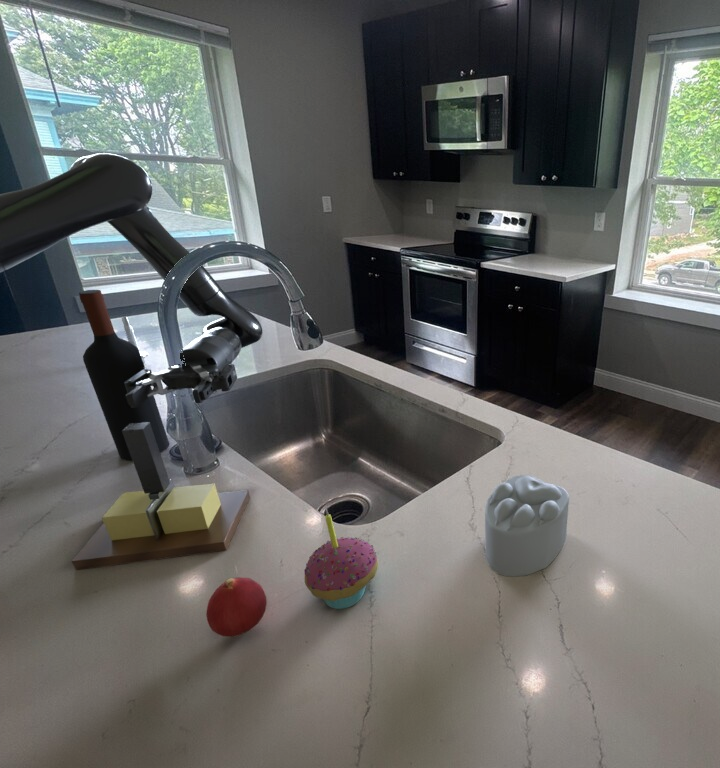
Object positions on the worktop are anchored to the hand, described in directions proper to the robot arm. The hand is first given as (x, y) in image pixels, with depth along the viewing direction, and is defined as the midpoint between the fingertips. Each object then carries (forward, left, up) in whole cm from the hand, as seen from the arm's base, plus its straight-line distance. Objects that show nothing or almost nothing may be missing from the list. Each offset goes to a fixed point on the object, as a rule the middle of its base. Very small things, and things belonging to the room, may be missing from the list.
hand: (164, 399), depth 69 cm
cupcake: (+26, -25, -17) cm, 40 cm away
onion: (+15, -28, -17) cm, 37 cm away
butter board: (0, -8, -17) cm, 19 cm away
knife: (0, -8, -16) cm, 18 cm away
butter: (0, -8, -16) cm, 18 cm away
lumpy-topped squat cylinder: (+50, -21, -17) cm, 57 cm away
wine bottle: (-14, +17, -17) cm, 28 cm away
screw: (-36, +66, -17) cm, 77 cm away
